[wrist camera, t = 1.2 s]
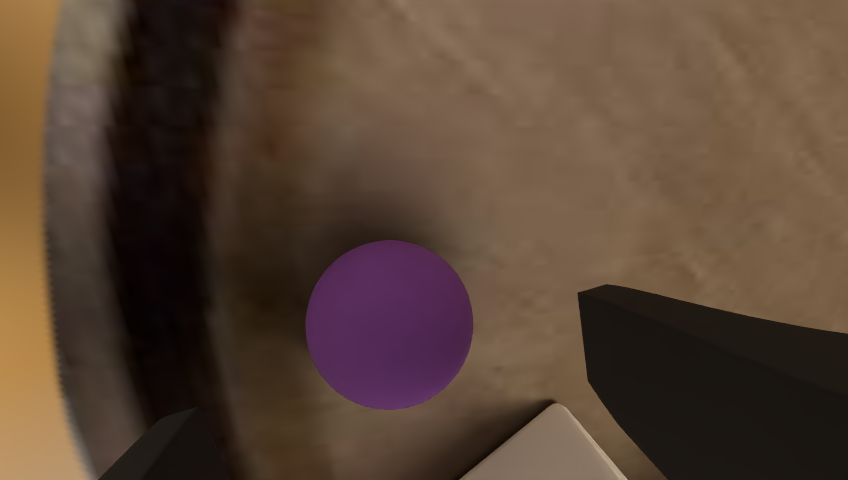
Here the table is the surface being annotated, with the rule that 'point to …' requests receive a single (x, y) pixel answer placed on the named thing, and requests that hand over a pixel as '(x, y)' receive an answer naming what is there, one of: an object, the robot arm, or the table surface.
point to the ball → (389, 324)
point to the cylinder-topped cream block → (548, 453)
